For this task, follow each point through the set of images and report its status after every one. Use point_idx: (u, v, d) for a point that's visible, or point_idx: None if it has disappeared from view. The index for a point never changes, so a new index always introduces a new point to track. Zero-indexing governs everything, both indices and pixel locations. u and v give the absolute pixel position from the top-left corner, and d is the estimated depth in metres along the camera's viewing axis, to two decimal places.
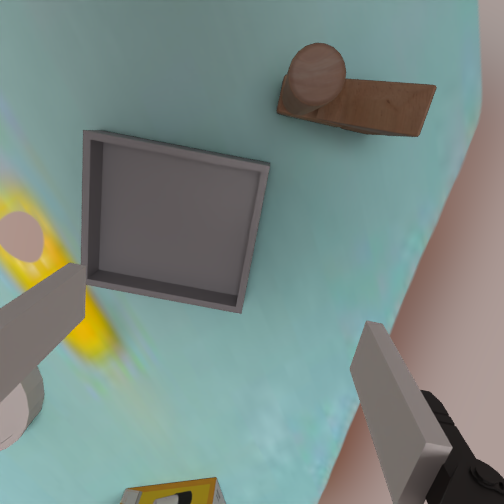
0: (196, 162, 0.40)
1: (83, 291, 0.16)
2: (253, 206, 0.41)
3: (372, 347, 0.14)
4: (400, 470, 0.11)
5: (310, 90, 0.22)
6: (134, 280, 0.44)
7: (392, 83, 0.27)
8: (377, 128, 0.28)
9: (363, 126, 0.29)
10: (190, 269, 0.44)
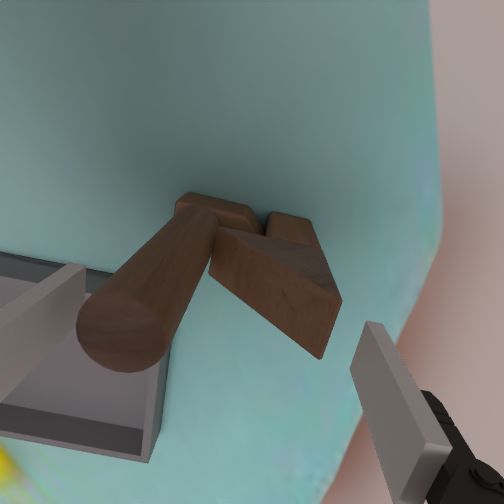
0: None
1: (83, 291, 0.16)
2: None
3: (372, 346, 0.14)
4: (400, 470, 0.11)
5: (112, 356, 0.13)
6: (20, 416, 0.36)
7: (288, 270, 0.18)
8: (272, 323, 0.19)
9: (257, 311, 0.20)
10: (90, 402, 0.36)
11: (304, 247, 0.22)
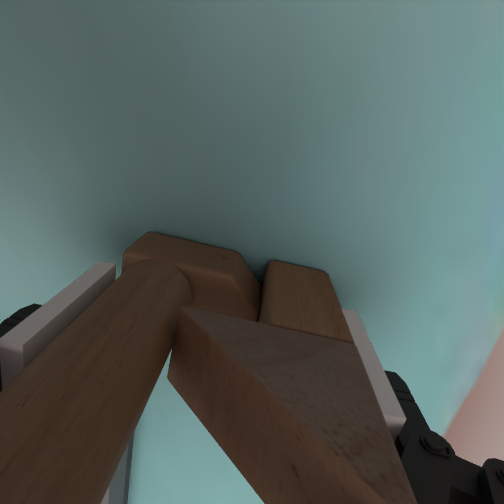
0: None
1: None
2: None
3: None
4: None
5: None
6: None
7: (304, 431, 0.09)
8: None
9: (244, 476, 0.11)
10: None
11: (327, 346, 0.13)
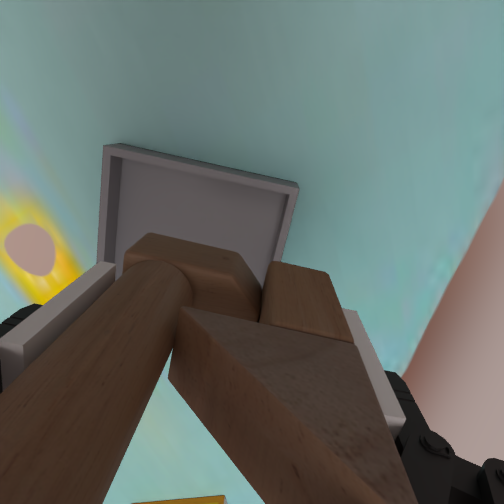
0: (219, 180, 0.38)
1: None
2: (277, 227, 0.40)
3: None
4: None
5: None
6: None
7: (305, 431, 0.09)
8: None
9: (245, 476, 0.11)
10: None
11: (328, 346, 0.13)
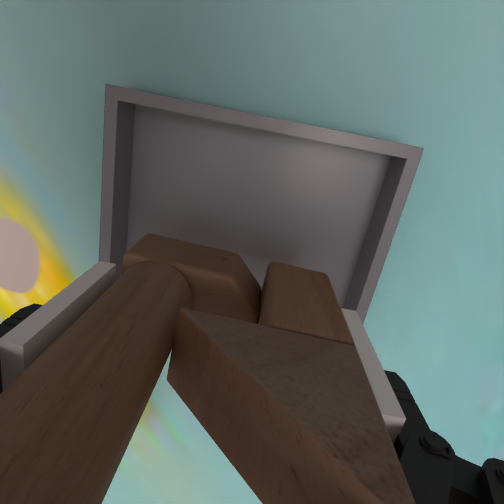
0: (285, 143, 0.25)
1: None
2: (370, 214, 0.26)
3: None
4: None
5: None
6: None
7: (303, 433, 0.09)
8: None
9: (244, 478, 0.11)
10: None
11: (326, 348, 0.13)
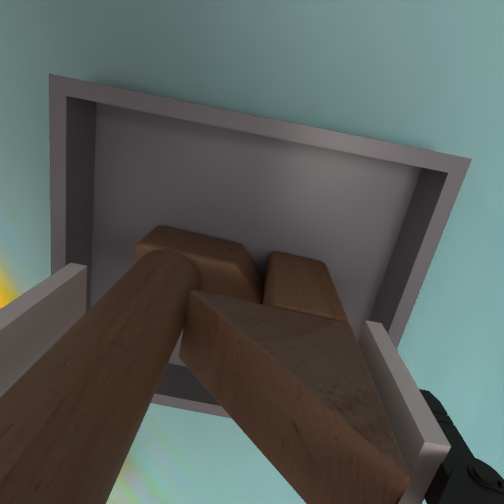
0: (287, 152, 0.19)
1: (84, 291, 0.16)
2: (394, 239, 0.21)
3: (371, 346, 0.14)
4: None
5: None
6: None
7: (303, 391, 0.10)
8: (276, 467, 0.12)
9: (251, 438, 0.12)
10: None
11: (324, 325, 0.14)
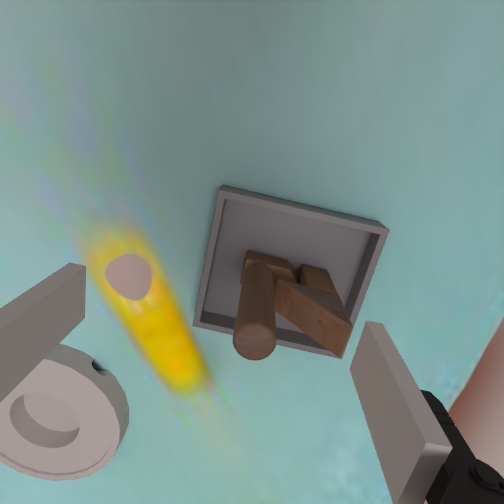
0: (312, 219, 0.43)
1: (83, 291, 0.16)
2: (360, 260, 0.44)
3: (372, 346, 0.14)
4: (400, 470, 0.11)
5: (249, 352, 0.28)
6: None
7: (323, 309, 0.34)
8: (312, 337, 0.35)
9: (302, 330, 0.36)
10: None
11: (328, 293, 0.37)
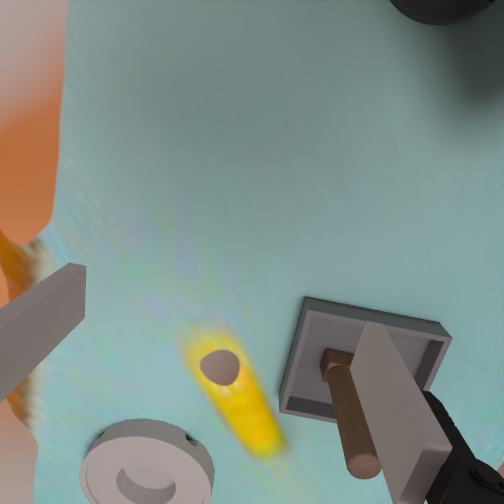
0: None
1: (83, 291, 0.16)
2: (422, 354, 0.52)
3: (372, 346, 0.14)
4: (400, 470, 0.11)
5: (360, 474, 0.36)
6: (317, 406, 0.54)
7: None
8: None
9: None
10: None
11: None
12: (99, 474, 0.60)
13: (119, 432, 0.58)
